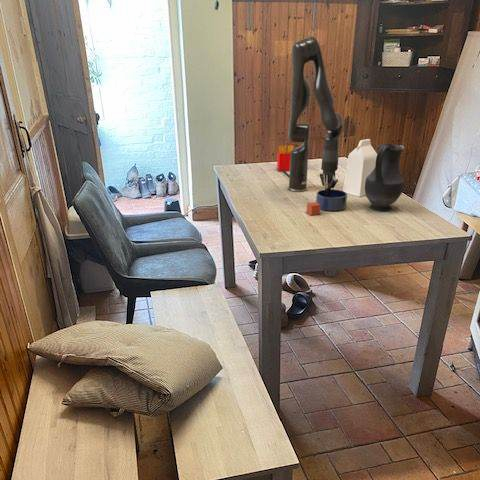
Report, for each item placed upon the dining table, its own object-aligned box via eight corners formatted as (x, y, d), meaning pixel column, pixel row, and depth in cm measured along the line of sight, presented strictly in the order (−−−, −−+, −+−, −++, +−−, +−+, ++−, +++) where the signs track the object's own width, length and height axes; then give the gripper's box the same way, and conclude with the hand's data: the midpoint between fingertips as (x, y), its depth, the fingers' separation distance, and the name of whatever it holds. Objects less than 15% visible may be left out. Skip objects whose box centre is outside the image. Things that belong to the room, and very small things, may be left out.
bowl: (310, 204, 241) (311, 191, 238) (335, 201, 246) (336, 188, 243) (325, 213, 230) (327, 199, 227) (351, 209, 235) (353, 195, 231)
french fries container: (276, 168, 302) (277, 144, 295) (291, 168, 303) (292, 144, 296) (279, 171, 296) (280, 147, 289) (294, 171, 297) (295, 146, 290)
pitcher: (404, 206, 238) (415, 141, 222) (389, 218, 223) (400, 149, 208) (370, 200, 246) (378, 137, 231) (353, 212, 231) (360, 145, 216)
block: (306, 212, 231) (307, 203, 229) (315, 211, 232) (315, 202, 230) (311, 215, 227) (311, 205, 225) (319, 214, 229) (320, 204, 227)
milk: (359, 196, 252) (365, 143, 239) (342, 191, 260) (348, 139, 247) (375, 192, 258) (382, 140, 245) (358, 187, 266) (364, 136, 253)
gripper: (315, 157, 234) (313, 193, 243) (331, 163, 224) (327, 201, 233) (329, 155, 237) (326, 191, 246) (345, 161, 227) (341, 198, 235)
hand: (327, 196), depth 239 cm, fingers closed
